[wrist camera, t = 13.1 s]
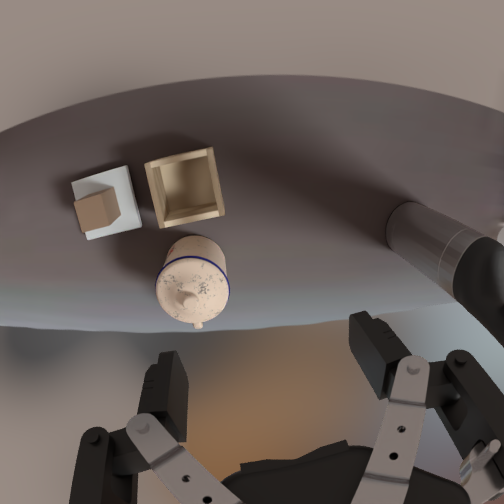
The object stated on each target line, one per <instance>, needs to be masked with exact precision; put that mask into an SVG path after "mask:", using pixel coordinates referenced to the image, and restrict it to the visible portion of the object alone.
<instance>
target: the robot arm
mask: <svg viewBox="0 0 504 504" xmlns="http://www.w3.org/2000/svg"><path fill="white" fill-rule="evenodd" d="M386 239H387V243H388V245H389V246H390V248H391V249H392V250H393V251H394V252H396V253H397V254H398V255H400V256H401V257H402V258H404V259H405V260H406V261H407V262H409V263H410V264H411V265H413V266H414V267H415V268H417V269H418V270H419V271H420V272H422V273H423V274H424V275H426V276H427V277H428V278H429V279H431V280H432V281H433V282H434V283H436V284H437V285H438V286H439V287H441V288H442V289H443V290H444V291H446V292H447V293H448V294H449V295H450V296H452V297H453V298H454V299H455V300H456V301H458V302H459V303H460V304H461V305H463V307H464V308H465V309H466V310H467V311H468V312H469V313H470V314H472V315H473V316H474V317H475V318H476V319H477V320H478V321H479V322H480V323H481V324H482V325H483V326H484V327H485V328H486V329H487V330H488V331H489V332H490V333H491V334H492V335H493V336H494V337H495V338H496V340H497V341H498V342H499V343H500V344H501V345H502V346H503V347H504V246H503V245H502V244H501V243H499V242H498V241H496V240H494V239H492V238H490V237H488V236H486V235H484V234H482V233H480V232H478V231H476V230H474V229H472V228H470V227H468V226H466V225H464V224H462V223H461V222H459V221H457V220H454V219H452V218H450V217H448V216H446V215H444V214H441V213H439V212H437V211H435V210H433V209H430V208H428V207H425V206H423V205H420V204H418V203H416V202H406V203H404V204H401V205H400V206H399V207H397V208H396V209H395V210H394V211H393V213H392V214H391V216H390V218H389V220H388V223H387V227H386ZM349 346H350V349H351V352H352V353H353V355H354V357H355V359H356V360H357V362H358V364H359V365H360V367H361V369H362V371H363V372H364V374H365V376H366V378H367V379H368V381H369V383H370V385H371V386H372V388H373V389H374V392H375V393H376V395H377V397H378V399H379V400H381V399H384V398H388V400H389V402H388V405H387V409H386V412H385V416H384V419H383V422H382V425H381V428H380V432H379V435H378V437H377V441H376V443H375V446H374V448H370V447H366V446H354V445H353V446H348V443H347V441H346V440H343V441H340V442H336V443H333V444H330V445H327V446H323V447H320V448H318V449H316V450H314V451H312V452H310V453H308V454H306V455H304V456H302V457H300V458H298V459H294V460H270V459H269V460H268V459H266V460H261V461H255V462H248V463H241V464H240V467H241V470H240V471H238V472H235V473H233V474H231V475H230V476H228V477H226V478H225V479H224V480H223V481H221V482H219V481H218V480H217V479H216V478H215V477H214V476H213V475H212V474H210V473H209V472H208V471H207V470H206V469H205V468H204V467H203V466H202V465H201V464H200V463H199V462H198V461H197V460H196V459H195V458H194V457H193V456H192V455H191V454H190V453H189V452H188V451H187V450H186V449H185V448H184V447H183V446H180V445H179V444H178V442H186V436H187V410H188V388H189V383H188V378H187V374H186V372H185V369H184V367H183V364H182V362H181V360H180V357H179V355H178V353H177V351H168V352H161V353H160V354H159V358H158V364H153V365H151V366H150V368H149V369H148V370H147V372H146V373H145V378H144V383H143V387H142V388H143V390H142V392H141V397H140V402H139V407H138V412H137V415H136V416H134V417H133V418H131V419H130V420H129V422H128V423H127V426H126V427H125V428H123V429H120V430H117V431H113V432H110V433H108V432H107V431H106V430H105V429H104V428H102V427H93V428H90V429H88V430H87V431H86V432H85V433H84V434H83V436H82V438H81V442H80V446H79V451H78V455H77V460H76V466H75V471H74V476H73V481H72V487H71V494H70V500H69V504H137V489H138V473H139V472H143V471H146V470H149V469H152V470H153V471H154V473H155V474H156V475H157V476H158V478H159V479H160V480H161V481H162V482H163V484H164V485H165V486H166V487H167V488H168V490H169V491H170V492H171V493H172V494H173V495H174V497H175V498H176V499H177V500H178V501H179V502H180V503H181V504H483V503H484V502H486V501H487V500H495V499H497V498H498V497H500V496H501V495H502V494H504V395H503V393H502V392H501V391H500V389H499V388H498V387H497V386H496V384H495V383H494V382H493V381H492V379H491V378H490V377H489V375H488V374H487V373H486V372H485V370H484V369H483V368H482V367H481V365H480V364H479V363H478V362H477V361H476V359H475V358H474V357H473V356H472V355H471V354H470V353H469V352H467V351H465V350H454V351H452V352H450V353H449V354H448V355H447V357H446V360H445V361H438V362H427V361H426V360H425V359H424V358H422V357H420V356H415V355H414V356H413V355H412V354H411V353H410V351H409V350H408V349H407V348H406V346H405V345H404V344H403V343H402V341H401V340H400V339H399V338H398V337H397V336H396V334H395V333H394V331H392V329H391V328H390V327H389V325H388V324H387V323H386V322H384V321H382V320H381V319H379V318H376V319H372V318H371V316H370V315H369V314H368V312H367V311H362V312H358V313H355V314H351V315H350V317H349ZM428 408H434V409H435V410H436V412H437V414H438V416H439V417H440V419H441V421H442V422H443V424H444V426H445V428H446V430H447V431H448V433H449V435H450V437H451V438H452V440H453V442H454V444H455V446H456V447H457V449H458V451H459V453H460V455H461V457H462V459H463V462H462V463H461V465H460V470H459V473H460V477H461V485H460V484H458V483H456V482H453V481H451V480H448V479H445V478H442V477H440V476H437V475H434V474H432V473H429V472H427V471H424V470H422V469H419V468H417V467H414V466H413V465H414V461H415V457H416V454H417V449H418V445H419V441H420V436H421V432H422V427H423V422H424V416H425V411H426V409H428Z"/></svg>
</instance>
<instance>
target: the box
mask: <svg viewBox="0 0 504 504" xmlns="http://www.w3.org/2000/svg"><path fill="white" fill-rule="evenodd" d="M144 165H145V170H146V174H147V179H148V183H149V187H150V191H151V196H152V200H153V204H154V208H155V212H156V216H157V220H158V223H159V227H160V229H161V228H166V227H170V226H175V225H179V224H184V223H189V222H193V221H198V220H203V219H208V218H213V217H218V216H223V215H225V210H224V203H223V198H222V192H221V187H220V182H219V177H218V172H217V166H216V161H215V156H214V151H213V147H208V148H204V149H199V150H194V151H189V152H185V153H181V154H176V155H172V156H168V157H164V158H160V159H156V160H153V161H150V162H148V163H145V164H144Z"/></svg>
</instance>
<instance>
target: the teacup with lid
mask: <svg viewBox="0 0 504 504" xmlns="http://www.w3.org/2000/svg"><path fill="white" fill-rule="evenodd" d="M155 291H156V296H157V299H158V301H159V303H160V305H161V307H162V308H163V309H164V310H165V311H166V312H167V313H168V314H169V315H170V316H172V317H173V318H175V319H177V320H180V321H183V322H187V323H193V326H194V328H196V329H200V328H202V326H203V322H205V321H208V320H210V319H212V318H214V317H215V316H217V315H218V314H219V313H220V312H221V311H222V310H223V309H224V307H225V305H226V304H227V302H228V299H229V294H230V287H229V282H228V279H227V276H226V265H225V257H224V254H223V252H222V250H221V249H220V247H219V246H218V245H217V244H216V243H215V242H214V241H212V240H210V239H208V238H206V237H203V236H187V237H184V238H182V239H180V240H178V241H177V242H176V243H174V244H173V246H172V247H171V248H170V250H169V252H168V254H167V257H166V260H165V262H164V265H163V268H162V269H161V271H160V272H159V274H158V276H157V279H156V284H155Z"/></svg>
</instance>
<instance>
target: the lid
mask: <svg viewBox="0 0 504 504" xmlns="http://www.w3.org/2000/svg"><path fill="white" fill-rule="evenodd" d="M71 184H72V188H73V192H74V195H75V199H76V201H75V202H74V206H75V209H76V213H77V216H78V220H79V223H80V226H81V230H82V233H84V232H85V234H86V237H87V240H90V239H94V238H98V237H102V236H106V235H110V234H115V233H119V232H123V231H127V230H131V229H136V228H140V227H141V226H142V222H141V218H140V214H139V210H138V206H137V202H136V198H135V194H134V190H133V186H132V182H131V177H130V173H129V169H128V165H126V166H122V167H119V168H115V169H112V170H108V171H105V172H102V173H99V174H95V175H92V176H89V177H86V178H83V179H80V180H77V181H74V182H72V183H71Z"/></svg>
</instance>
